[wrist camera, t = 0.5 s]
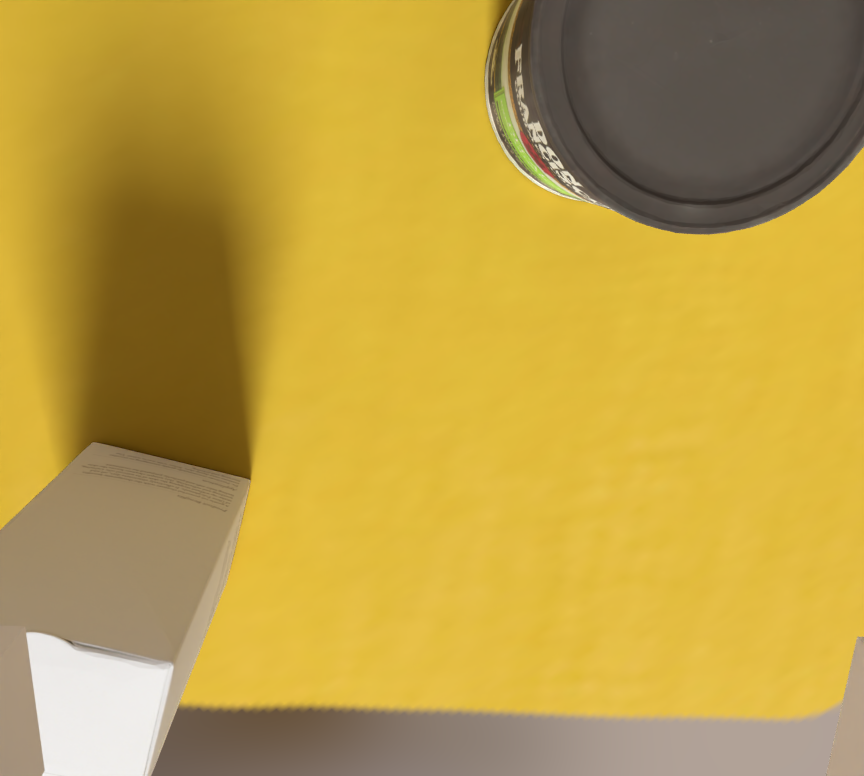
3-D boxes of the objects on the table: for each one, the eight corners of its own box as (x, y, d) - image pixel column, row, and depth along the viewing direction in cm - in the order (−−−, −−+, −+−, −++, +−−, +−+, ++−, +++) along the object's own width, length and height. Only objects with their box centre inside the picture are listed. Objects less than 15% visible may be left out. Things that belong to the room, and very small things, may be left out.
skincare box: (70, 547, 41) (-127, 778, 26) (92, 429, 39) (-106, 603, 24) (233, 587, 42) (133, 832, 27) (261, 473, 40) (172, 667, 25)
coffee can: (572, 249, 37) (664, 306, 24) (437, 58, 35) (452, -1, 21) (763, 105, 35) (980, 79, 22) (636, -106, 33) (791, -282, 19)
